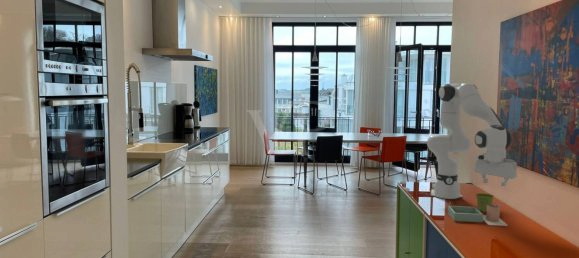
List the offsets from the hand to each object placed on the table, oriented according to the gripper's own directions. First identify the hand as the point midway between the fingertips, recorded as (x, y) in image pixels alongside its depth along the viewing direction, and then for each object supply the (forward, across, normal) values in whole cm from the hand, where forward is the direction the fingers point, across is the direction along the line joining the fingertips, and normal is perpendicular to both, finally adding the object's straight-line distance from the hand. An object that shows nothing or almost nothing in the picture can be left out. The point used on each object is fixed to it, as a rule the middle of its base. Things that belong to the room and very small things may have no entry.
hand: (494, 184), depth 213 cm
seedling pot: (+19, 0, 0) cm, 19 cm away
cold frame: (+19, +11, +7) cm, 23 cm away
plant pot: (+19, +12, -13) cm, 26 cm away
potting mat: (+19, 0, 0) cm, 19 cm away
